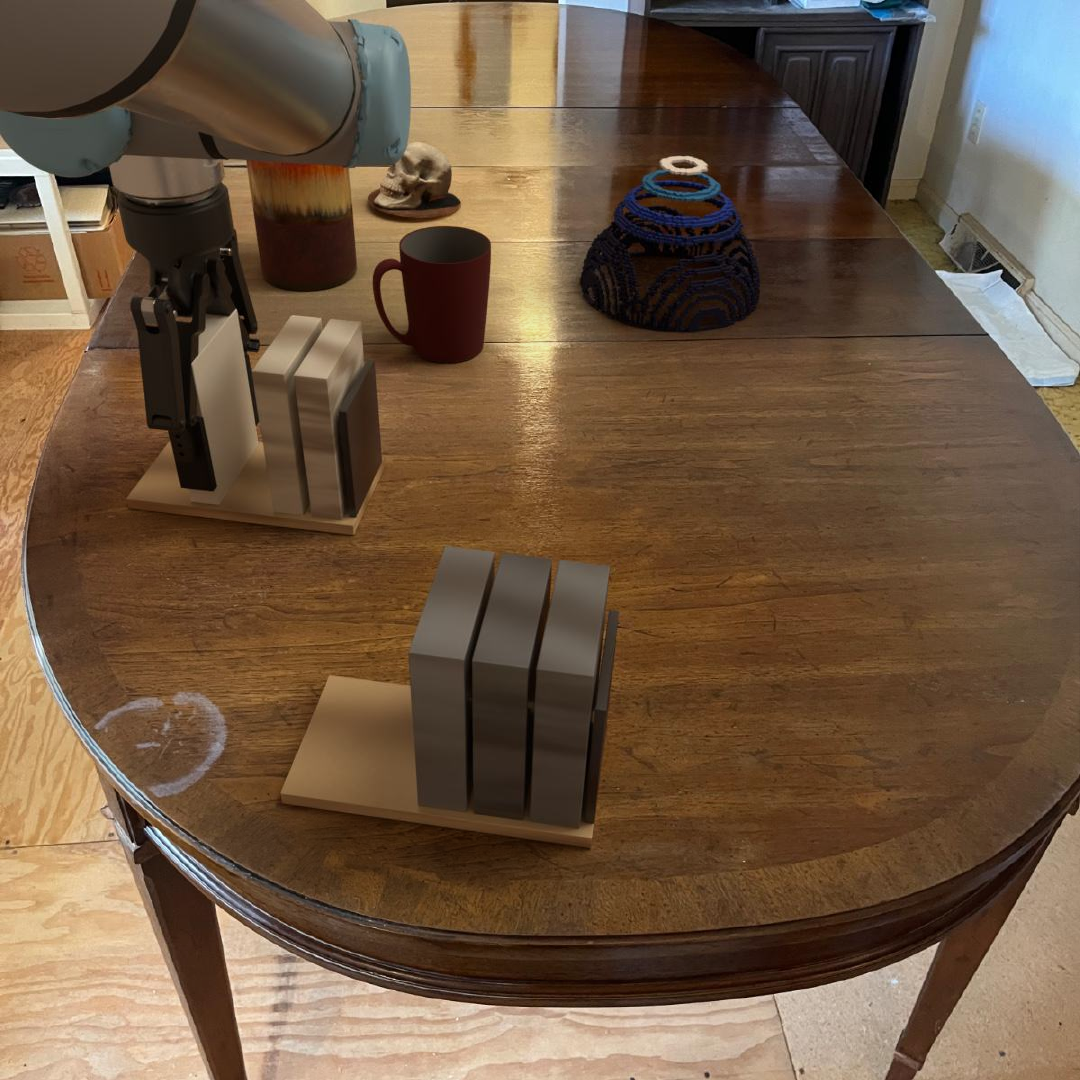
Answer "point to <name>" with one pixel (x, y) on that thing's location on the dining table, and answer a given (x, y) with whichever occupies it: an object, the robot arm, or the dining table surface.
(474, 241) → the mug
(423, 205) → the skull
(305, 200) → the vase
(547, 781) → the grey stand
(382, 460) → the beige stand
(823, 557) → the dining table surface
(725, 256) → the decorative bowl
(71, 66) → the robot arm
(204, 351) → the white book
